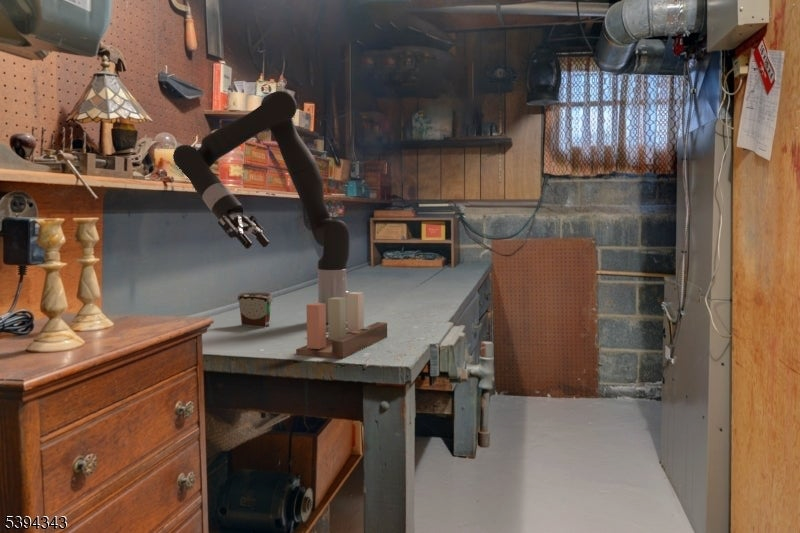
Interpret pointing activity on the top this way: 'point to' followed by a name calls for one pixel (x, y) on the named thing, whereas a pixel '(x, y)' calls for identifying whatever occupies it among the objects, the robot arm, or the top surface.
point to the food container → (255, 308)
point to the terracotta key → (316, 325)
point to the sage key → (336, 317)
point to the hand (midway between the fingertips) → (258, 245)
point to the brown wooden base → (348, 342)
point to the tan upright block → (355, 311)
